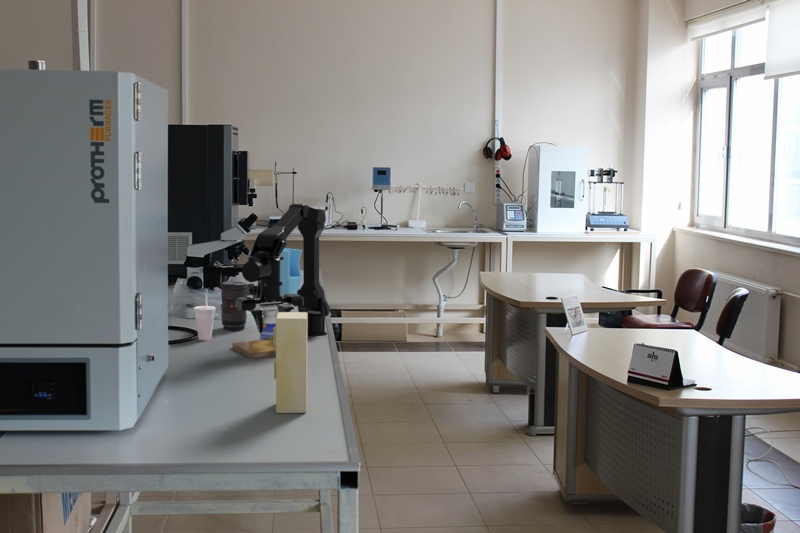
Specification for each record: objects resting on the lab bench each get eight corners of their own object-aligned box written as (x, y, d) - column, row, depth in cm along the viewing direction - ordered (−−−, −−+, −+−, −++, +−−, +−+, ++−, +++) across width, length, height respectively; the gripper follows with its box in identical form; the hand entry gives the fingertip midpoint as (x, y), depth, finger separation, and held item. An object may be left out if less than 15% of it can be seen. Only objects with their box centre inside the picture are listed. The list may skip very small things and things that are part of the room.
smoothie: (210, 342, 237) (210, 295, 235) (190, 340, 238) (190, 294, 236) (219, 337, 243) (219, 292, 241) (199, 336, 244) (199, 291, 242)
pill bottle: (257, 345, 224) (257, 311, 223) (264, 341, 230) (264, 307, 228) (275, 346, 223) (275, 312, 222) (281, 342, 229) (282, 309, 227)
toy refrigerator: (274, 402, 180) (275, 311, 178) (307, 402, 181) (308, 311, 178) (271, 413, 172) (272, 318, 170) (306, 413, 173) (307, 318, 170)
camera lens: (244, 332, 252) (244, 285, 250) (218, 331, 252) (218, 284, 250) (249, 326, 260) (249, 281, 258) (224, 325, 260) (224, 280, 258)
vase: (288, 304, 302) (288, 251, 299) (272, 301, 306) (273, 249, 304) (301, 301, 309) (302, 250, 306) (286, 298, 313) (286, 248, 310)
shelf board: (280, 342, 239) (280, 327, 238) (300, 352, 227) (300, 337, 226) (232, 347, 231) (232, 332, 230) (250, 358, 219) (250, 342, 218)
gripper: (288, 271, 236) (288, 323, 238) (228, 275, 226) (228, 329, 228) (304, 277, 226) (304, 330, 228) (242, 281, 216) (242, 337, 218)
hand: (269, 331), depth 226 cm, fingers closed on pill bottle, 5 cm apart
